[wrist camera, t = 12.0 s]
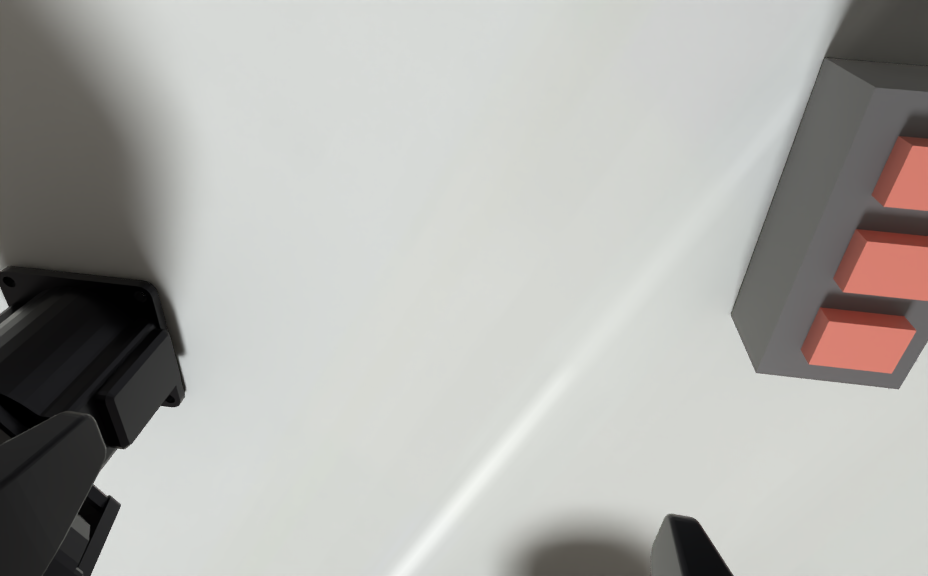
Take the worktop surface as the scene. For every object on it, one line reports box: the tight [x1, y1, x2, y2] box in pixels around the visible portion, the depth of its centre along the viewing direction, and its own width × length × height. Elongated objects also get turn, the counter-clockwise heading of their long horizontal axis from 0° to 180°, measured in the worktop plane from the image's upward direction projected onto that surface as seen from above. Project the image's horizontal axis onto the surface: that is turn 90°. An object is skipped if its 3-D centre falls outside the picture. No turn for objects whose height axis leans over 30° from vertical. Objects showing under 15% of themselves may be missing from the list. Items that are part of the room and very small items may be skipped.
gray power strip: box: [731, 58, 928, 389], centre depth 18 cm, size 9×4×4 cm, turn 177°
